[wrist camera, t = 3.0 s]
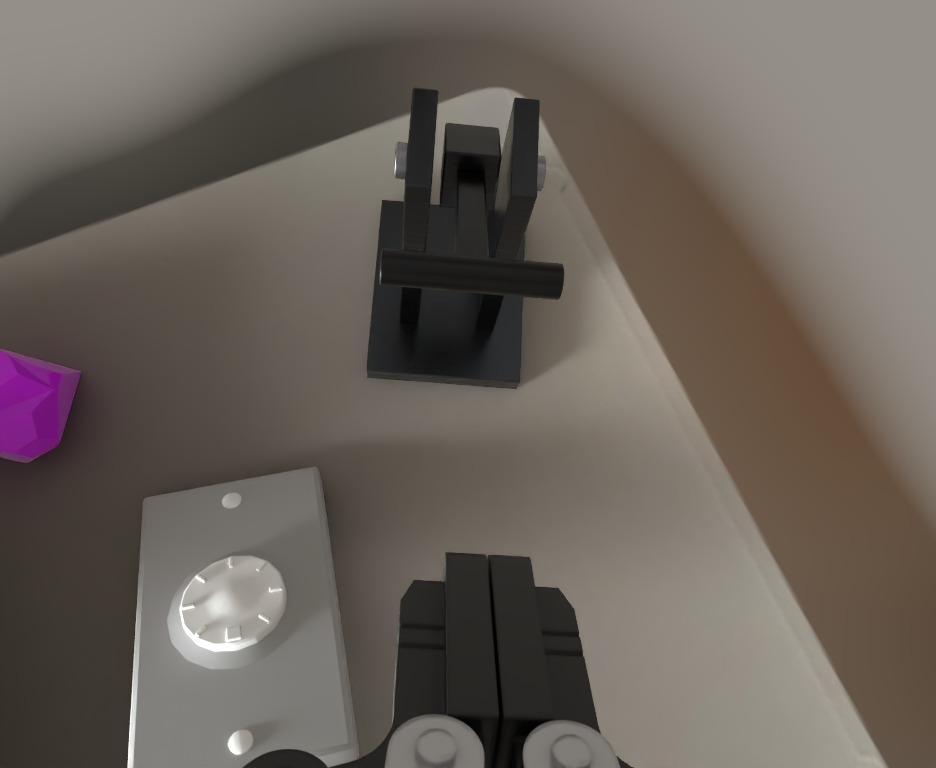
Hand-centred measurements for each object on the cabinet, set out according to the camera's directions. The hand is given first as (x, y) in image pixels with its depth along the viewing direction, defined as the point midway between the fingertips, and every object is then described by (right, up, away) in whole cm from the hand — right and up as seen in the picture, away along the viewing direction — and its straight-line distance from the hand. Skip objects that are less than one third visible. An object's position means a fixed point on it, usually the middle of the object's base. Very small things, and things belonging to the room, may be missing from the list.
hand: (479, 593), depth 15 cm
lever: (0, +9, +17) cm, 19 cm away
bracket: (-1, +8, +32) cm, 33 cm away
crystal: (-22, +2, +28) cm, 35 cm away
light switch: (-11, -8, +26) cm, 29 cm away
